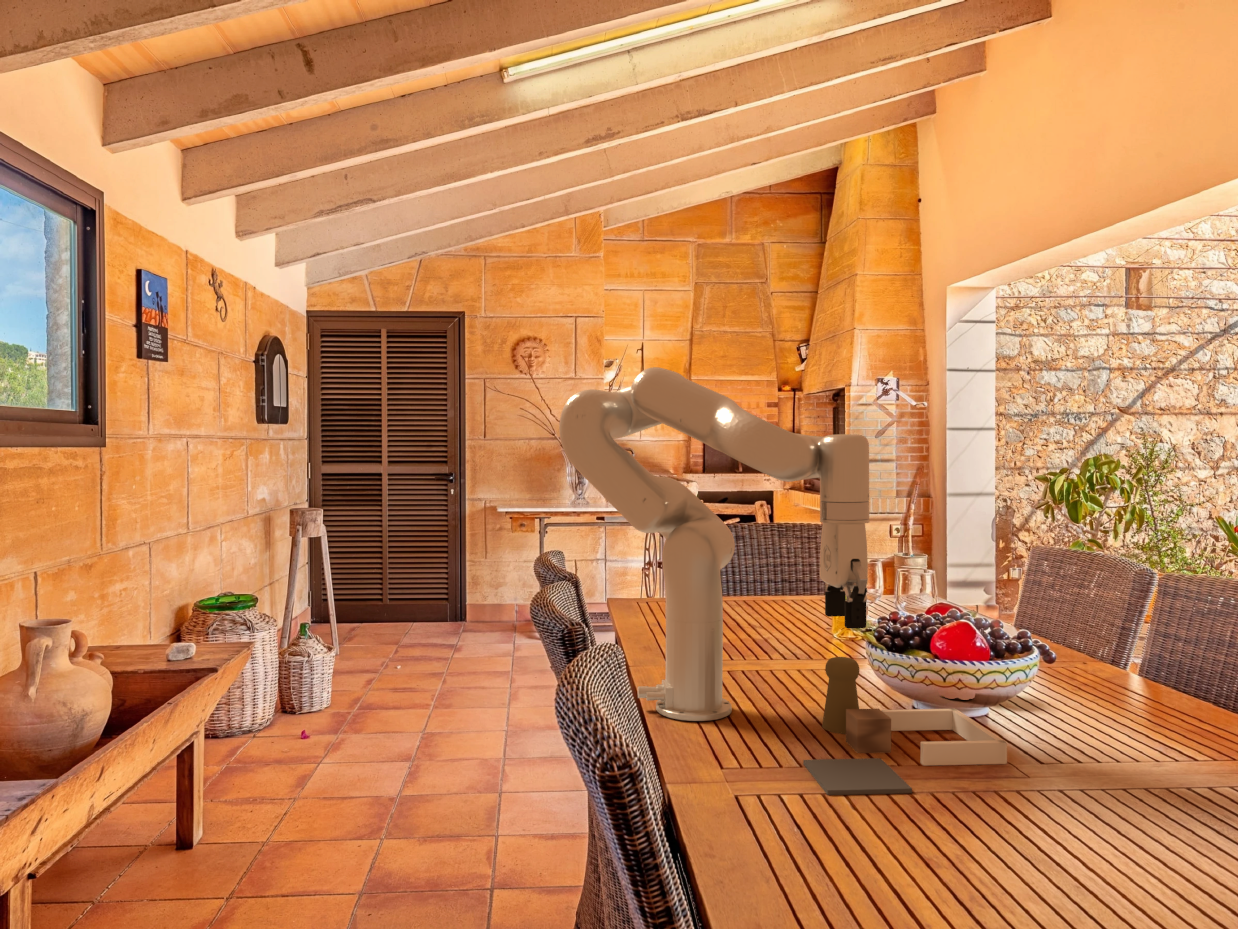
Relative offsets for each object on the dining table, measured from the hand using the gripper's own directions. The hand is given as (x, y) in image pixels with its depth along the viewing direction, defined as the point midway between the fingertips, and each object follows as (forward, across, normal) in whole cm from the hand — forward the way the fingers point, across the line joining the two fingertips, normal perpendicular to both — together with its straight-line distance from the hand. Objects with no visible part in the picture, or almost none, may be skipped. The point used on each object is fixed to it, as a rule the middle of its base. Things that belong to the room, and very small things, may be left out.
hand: (845, 621), depth 139 cm
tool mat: (+17, +21, -6) cm, 27 cm away
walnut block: (+17, +9, 0) cm, 19 cm away
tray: (+17, +9, +11) cm, 22 cm away
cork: (+17, 0, 0) cm, 17 cm away
